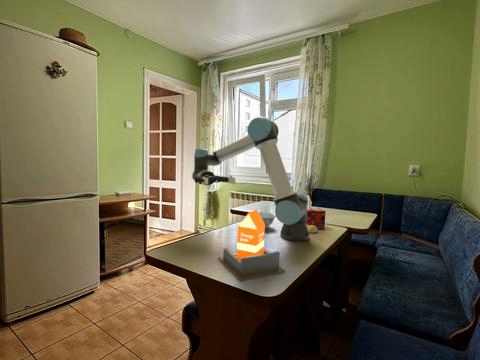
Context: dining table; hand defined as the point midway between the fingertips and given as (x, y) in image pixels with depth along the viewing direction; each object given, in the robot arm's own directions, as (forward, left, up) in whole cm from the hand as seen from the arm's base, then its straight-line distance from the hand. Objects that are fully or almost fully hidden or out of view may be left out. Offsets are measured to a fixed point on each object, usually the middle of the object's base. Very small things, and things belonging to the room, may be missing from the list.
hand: (221, 181), depth 115 cm
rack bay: (-11, +23, -30) cm, 39 cm away
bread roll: (-54, -25, -30) cm, 67 cm away
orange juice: (-11, +23, -29) cm, 39 cm away
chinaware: (-27, -32, -30) cm, 52 cm away
